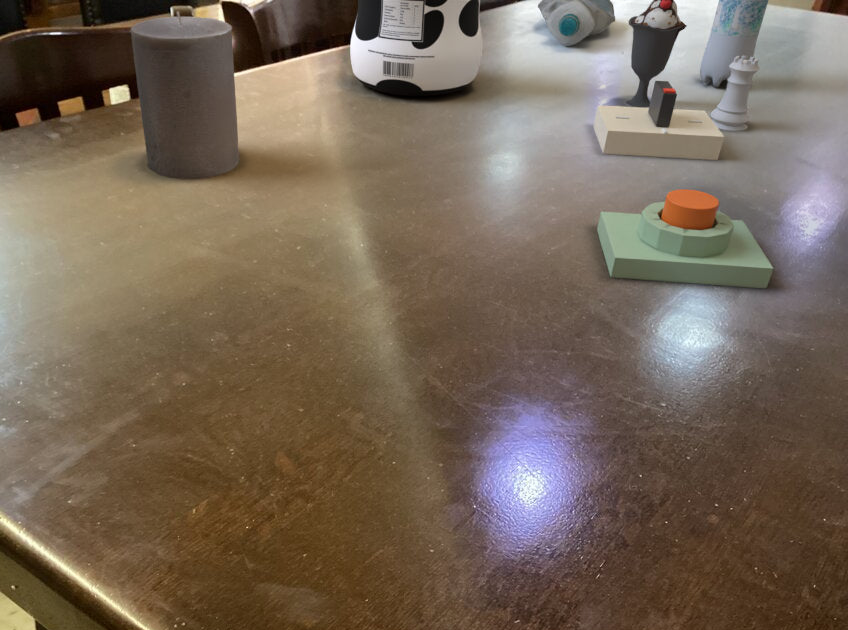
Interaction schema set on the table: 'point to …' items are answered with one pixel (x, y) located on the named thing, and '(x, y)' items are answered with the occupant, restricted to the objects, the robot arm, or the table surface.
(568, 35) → the detergent
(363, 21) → the milk container
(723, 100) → the rook chess piece
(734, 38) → the bottle
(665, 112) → the black plate
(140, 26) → the pillar candle
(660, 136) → the cream flat block
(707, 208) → the button
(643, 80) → the sundae
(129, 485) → the table surface
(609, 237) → the button block
